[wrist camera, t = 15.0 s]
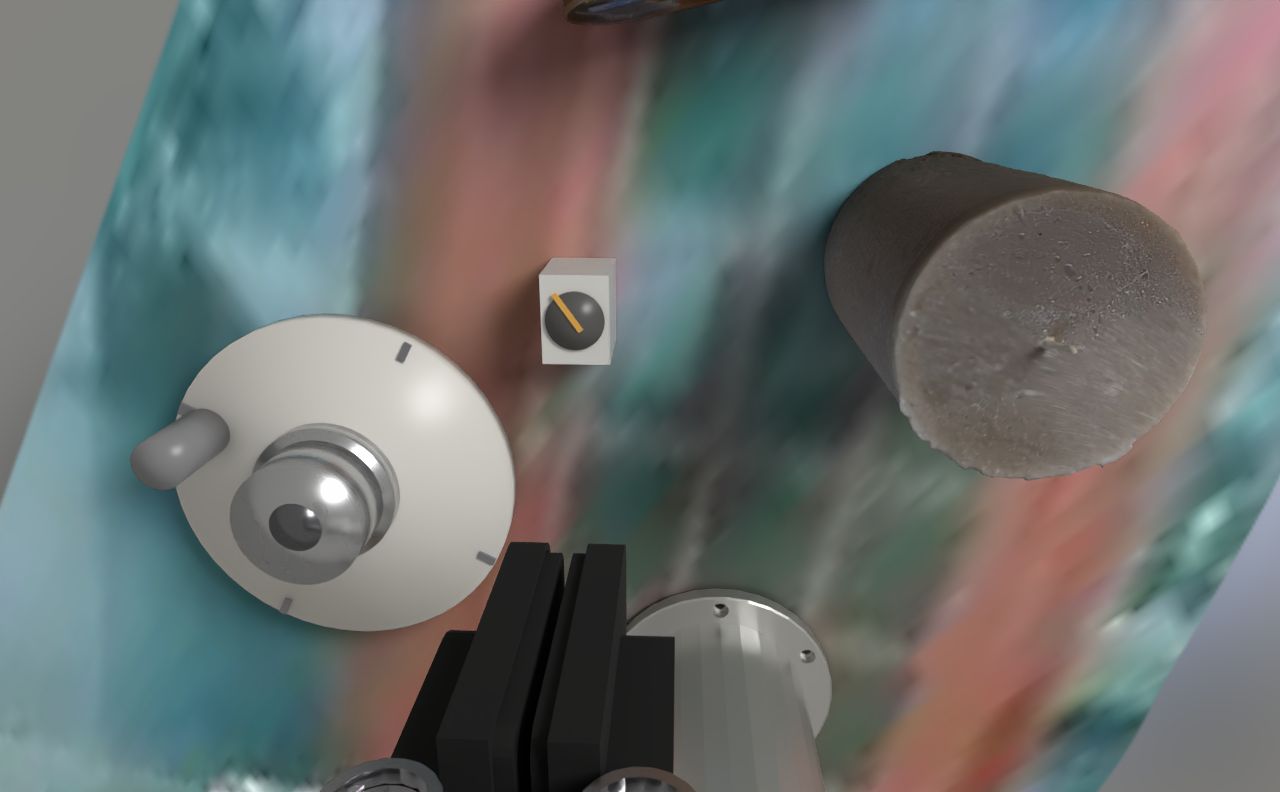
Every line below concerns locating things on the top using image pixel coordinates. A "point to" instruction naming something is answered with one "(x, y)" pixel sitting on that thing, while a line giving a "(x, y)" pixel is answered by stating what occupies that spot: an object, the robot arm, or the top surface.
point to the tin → (622, 10)
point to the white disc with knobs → (382, 412)
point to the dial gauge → (578, 311)
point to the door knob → (314, 503)
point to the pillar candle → (1016, 311)
